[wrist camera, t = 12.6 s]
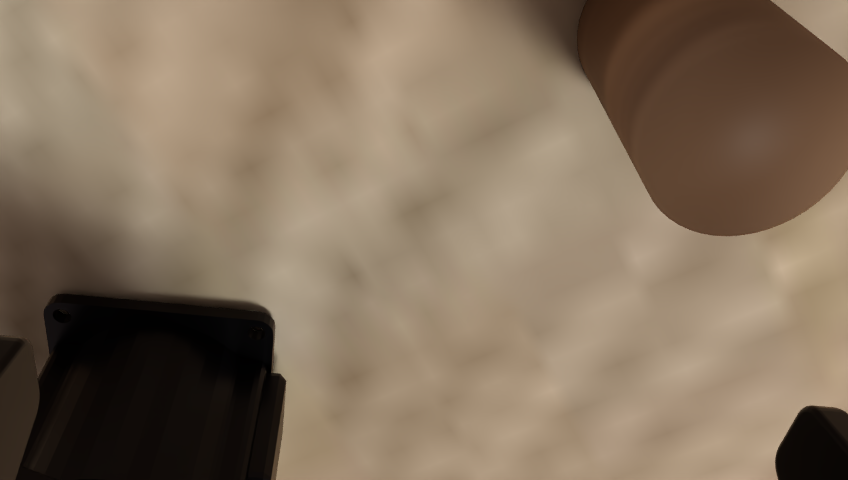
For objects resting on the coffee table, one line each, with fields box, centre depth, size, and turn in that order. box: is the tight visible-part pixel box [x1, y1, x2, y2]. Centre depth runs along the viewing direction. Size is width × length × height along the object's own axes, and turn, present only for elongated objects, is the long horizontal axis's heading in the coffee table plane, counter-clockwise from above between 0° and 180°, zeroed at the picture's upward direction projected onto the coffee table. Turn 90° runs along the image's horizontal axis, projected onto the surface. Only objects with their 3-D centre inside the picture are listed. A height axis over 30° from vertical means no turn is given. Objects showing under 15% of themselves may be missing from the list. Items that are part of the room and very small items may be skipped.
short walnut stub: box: [577, 0, 848, 236], centre depth 17 cm, size 4×4×6 cm
